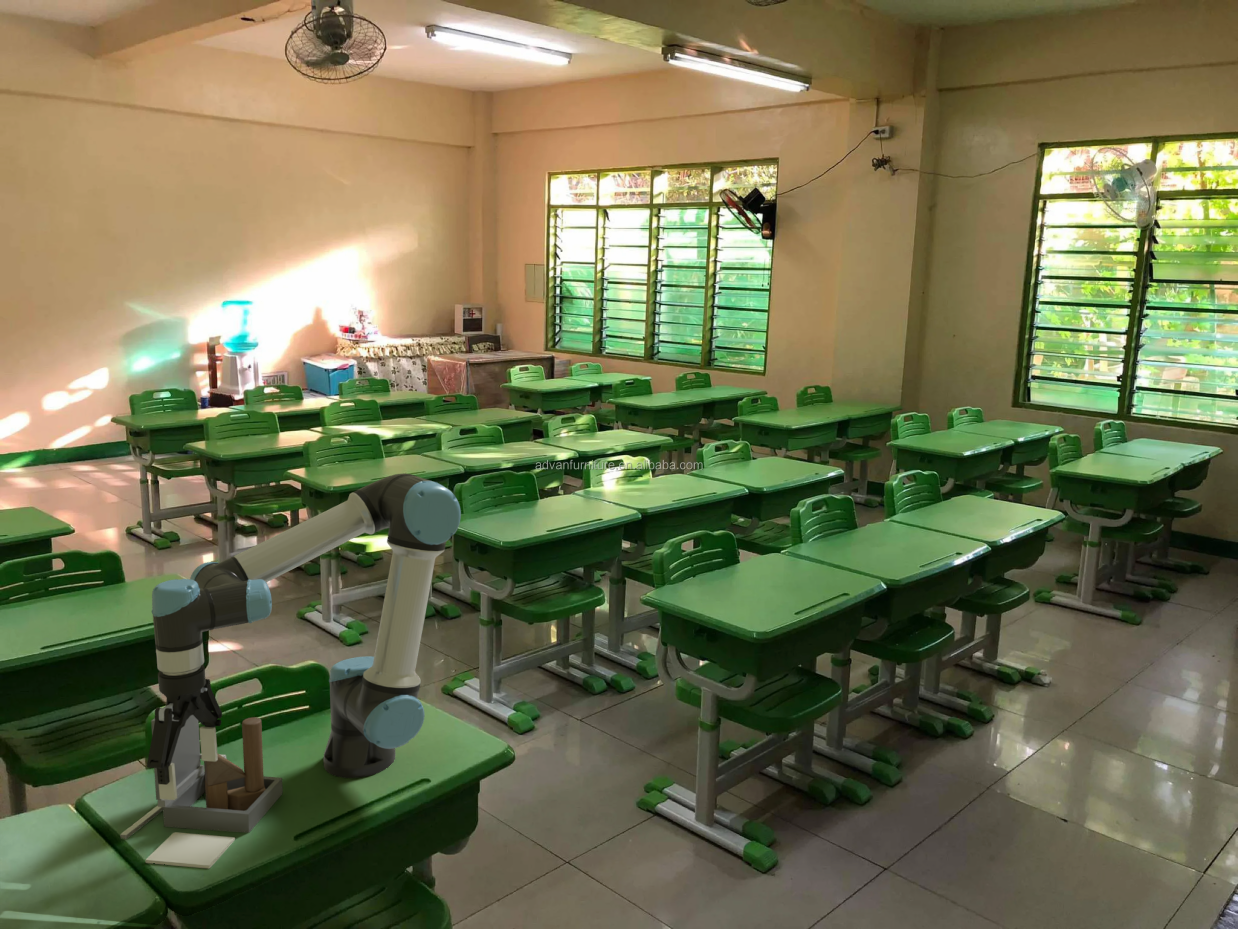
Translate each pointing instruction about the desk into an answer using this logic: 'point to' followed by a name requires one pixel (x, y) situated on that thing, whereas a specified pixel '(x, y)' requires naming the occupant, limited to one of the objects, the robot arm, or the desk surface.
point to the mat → (190, 850)
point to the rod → (141, 822)
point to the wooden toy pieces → (237, 773)
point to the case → (193, 788)
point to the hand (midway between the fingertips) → (190, 778)
